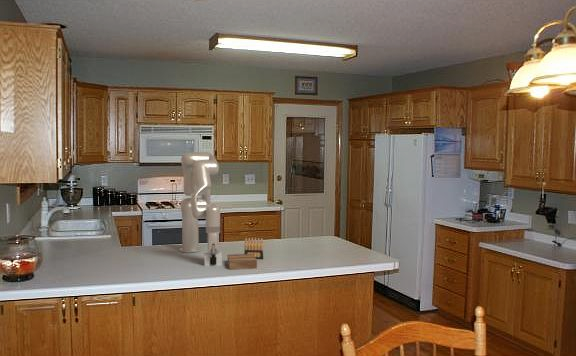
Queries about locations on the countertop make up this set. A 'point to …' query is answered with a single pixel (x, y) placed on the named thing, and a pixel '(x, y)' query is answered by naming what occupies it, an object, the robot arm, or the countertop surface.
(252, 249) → the ammunition clip
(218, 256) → the block
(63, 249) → the countertop surface
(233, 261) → the walnut stand
